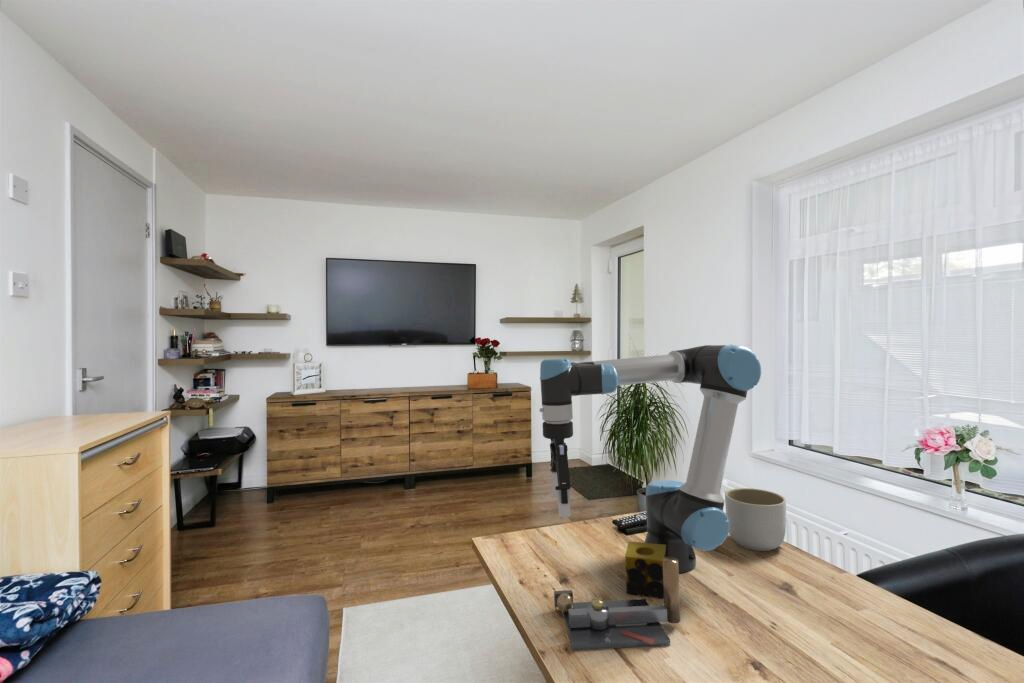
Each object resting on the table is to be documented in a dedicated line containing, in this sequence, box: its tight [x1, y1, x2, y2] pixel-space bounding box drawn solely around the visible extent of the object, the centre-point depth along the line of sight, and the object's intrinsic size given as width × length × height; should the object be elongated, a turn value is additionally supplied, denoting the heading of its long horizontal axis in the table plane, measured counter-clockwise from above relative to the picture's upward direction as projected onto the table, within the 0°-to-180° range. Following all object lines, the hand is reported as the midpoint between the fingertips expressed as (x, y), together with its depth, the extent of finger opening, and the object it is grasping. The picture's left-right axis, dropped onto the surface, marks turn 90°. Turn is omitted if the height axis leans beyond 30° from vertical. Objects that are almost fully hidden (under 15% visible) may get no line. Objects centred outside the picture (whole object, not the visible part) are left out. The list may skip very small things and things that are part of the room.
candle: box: [624, 541, 666, 600], centre depth 124 cm, size 10×10×10 cm
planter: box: [724, 487, 787, 552], centre depth 148 cm, size 17×17×15 cm
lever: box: [568, 557, 681, 630], centre depth 107 cm, size 25×5×13 cm, turn 93°
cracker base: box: [553, 589, 671, 652], centre depth 107 cm, size 23×17×7 cm
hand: (561, 506), depth 117 cm, fingers open, 13 cm apart
